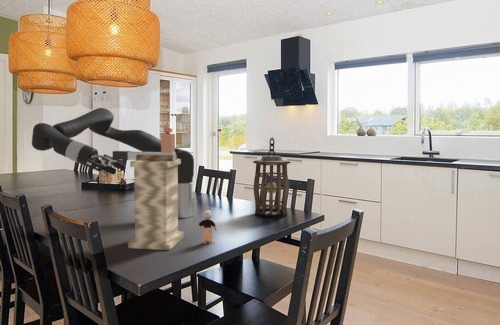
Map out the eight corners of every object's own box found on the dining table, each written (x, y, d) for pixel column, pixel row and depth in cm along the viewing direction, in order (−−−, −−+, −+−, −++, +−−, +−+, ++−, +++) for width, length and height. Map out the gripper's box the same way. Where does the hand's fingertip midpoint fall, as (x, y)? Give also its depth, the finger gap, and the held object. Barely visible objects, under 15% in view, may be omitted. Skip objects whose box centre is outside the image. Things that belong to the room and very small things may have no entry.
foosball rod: (112, 159, 144) (111, 124, 143) (117, 158, 148) (116, 124, 147) (172, 161, 141) (172, 125, 140) (176, 160, 145) (176, 125, 144)
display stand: (127, 247, 139) (126, 156, 136) (146, 234, 156) (145, 152, 153) (169, 250, 137) (169, 156, 134) (184, 236, 155) (183, 153, 152)
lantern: (297, 215, 195) (298, 138, 191) (271, 221, 182) (272, 138, 178) (270, 209, 209) (271, 137, 205) (244, 214, 196) (245, 137, 192)
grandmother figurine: (217, 241, 148) (217, 209, 147) (216, 244, 145) (216, 211, 143) (197, 241, 148) (197, 209, 147) (196, 244, 144) (196, 211, 143)
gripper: (88, 159, 152) (124, 175, 152) (68, 165, 138) (108, 182, 138) (93, 142, 151) (130, 158, 151) (74, 147, 137) (115, 164, 137)
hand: (120, 170), depth 144 cm, fingers open, 8 cm apart
